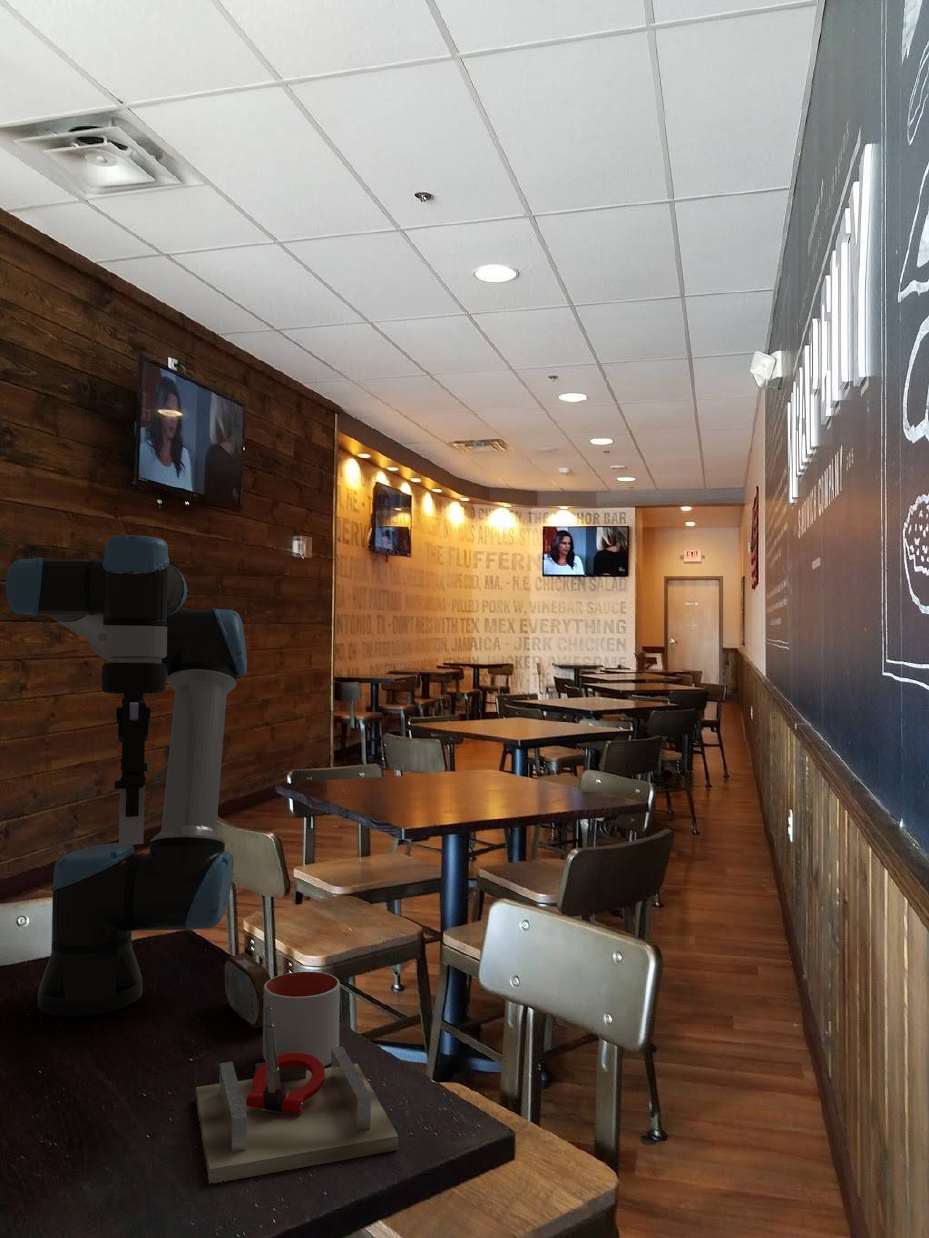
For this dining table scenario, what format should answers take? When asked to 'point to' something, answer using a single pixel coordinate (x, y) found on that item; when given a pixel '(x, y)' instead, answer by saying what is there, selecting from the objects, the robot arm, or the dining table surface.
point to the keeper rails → (341, 1074)
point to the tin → (246, 987)
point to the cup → (304, 1013)
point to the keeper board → (290, 1132)
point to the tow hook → (273, 1091)
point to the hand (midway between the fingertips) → (130, 833)
